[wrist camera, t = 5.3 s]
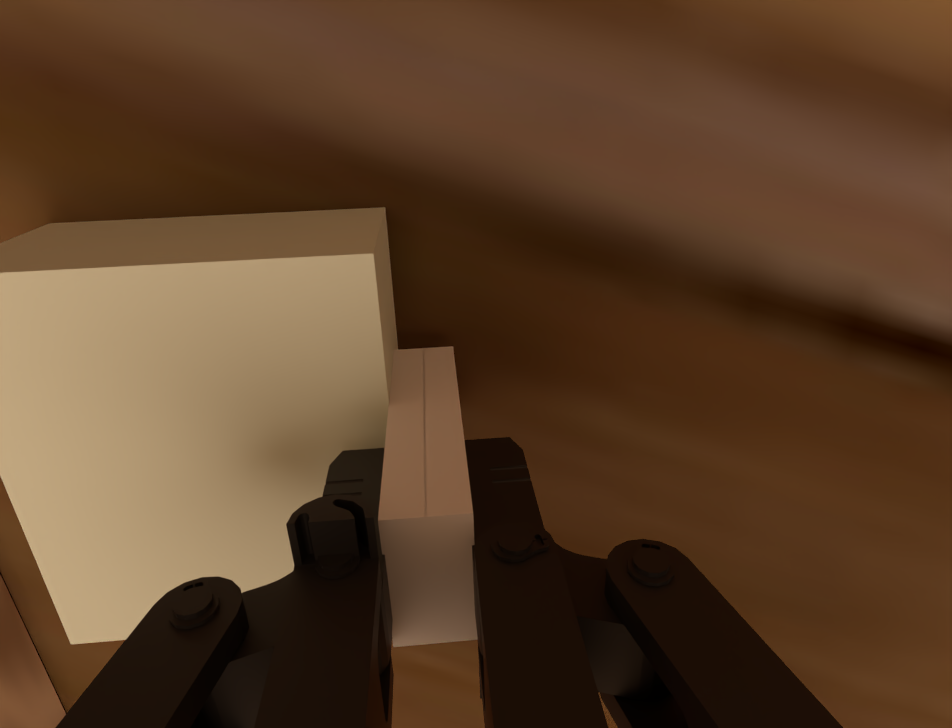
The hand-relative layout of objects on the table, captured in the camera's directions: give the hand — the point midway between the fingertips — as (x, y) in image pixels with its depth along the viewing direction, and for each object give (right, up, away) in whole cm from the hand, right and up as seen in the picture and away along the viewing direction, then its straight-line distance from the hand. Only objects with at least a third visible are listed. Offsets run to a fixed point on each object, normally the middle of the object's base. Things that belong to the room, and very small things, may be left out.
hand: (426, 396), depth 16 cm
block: (-5, 0, +1) cm, 5 cm away
